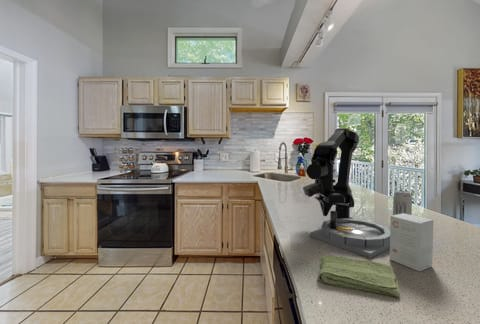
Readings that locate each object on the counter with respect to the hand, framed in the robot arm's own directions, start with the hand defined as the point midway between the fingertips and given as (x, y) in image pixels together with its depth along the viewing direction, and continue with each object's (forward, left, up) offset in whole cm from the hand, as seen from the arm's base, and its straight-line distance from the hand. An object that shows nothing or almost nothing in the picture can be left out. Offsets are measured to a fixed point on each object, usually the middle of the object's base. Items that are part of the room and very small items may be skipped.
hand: (325, 216), depth 96 cm
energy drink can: (-23, +18, -6) cm, 30 cm away
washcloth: (+24, +26, -6) cm, 36 cm away
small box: (+5, +31, -6) cm, 32 cm away
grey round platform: (0, +12, -6) cm, 13 cm away
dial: (-1, +12, -4) cm, 13 cm away
